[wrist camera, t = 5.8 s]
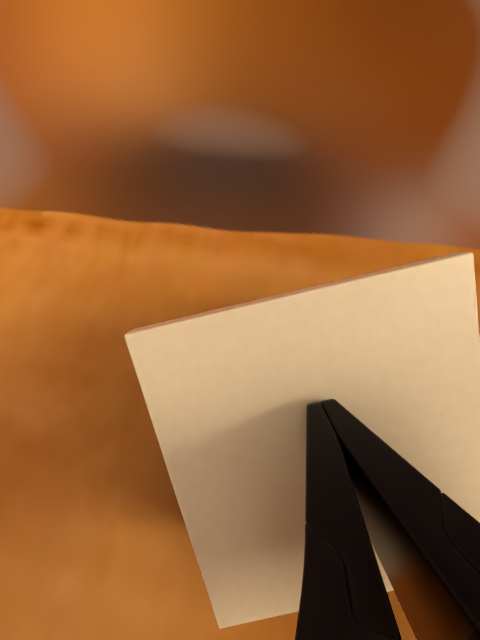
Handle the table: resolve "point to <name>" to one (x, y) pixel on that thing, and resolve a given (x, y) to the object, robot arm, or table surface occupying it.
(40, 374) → the table surface
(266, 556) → the lid
